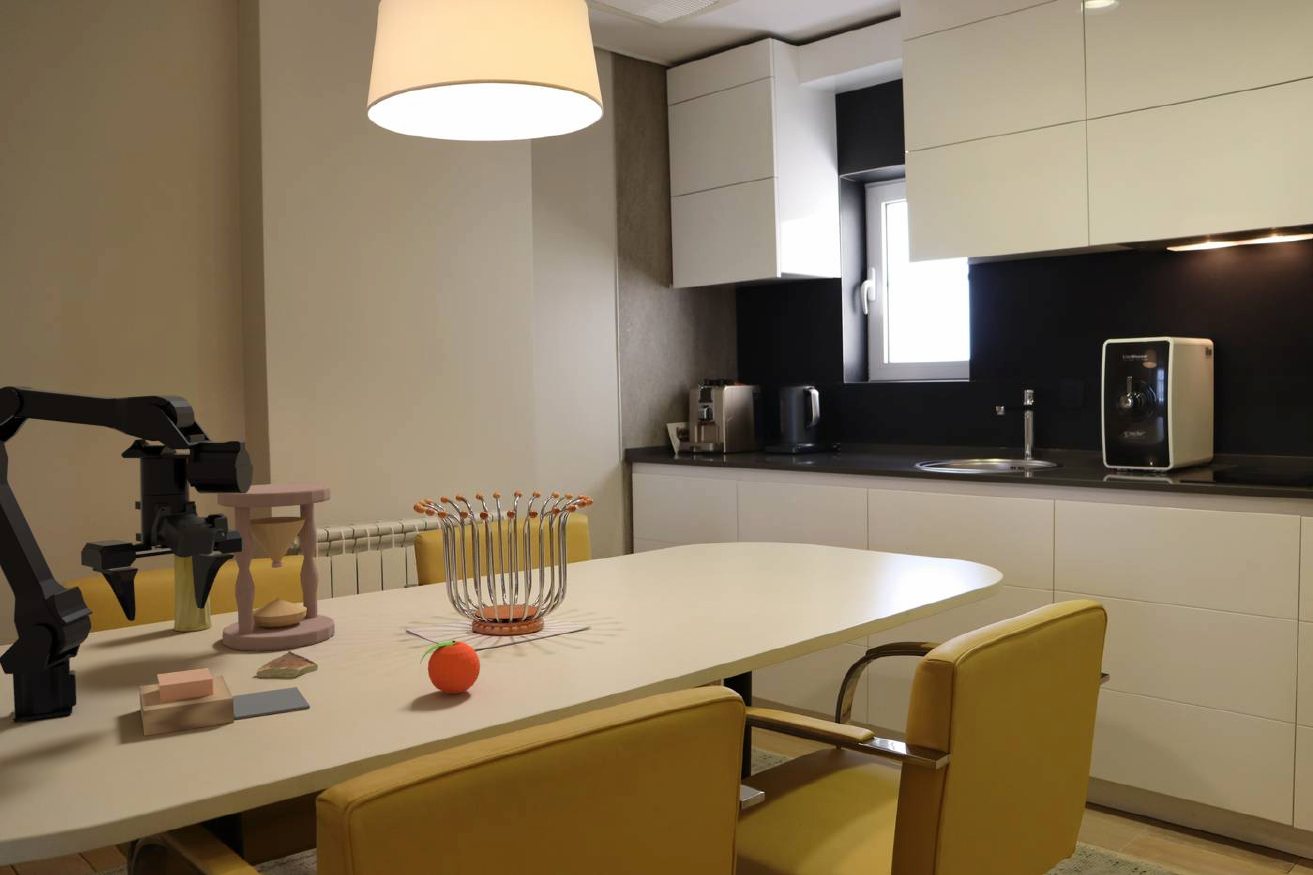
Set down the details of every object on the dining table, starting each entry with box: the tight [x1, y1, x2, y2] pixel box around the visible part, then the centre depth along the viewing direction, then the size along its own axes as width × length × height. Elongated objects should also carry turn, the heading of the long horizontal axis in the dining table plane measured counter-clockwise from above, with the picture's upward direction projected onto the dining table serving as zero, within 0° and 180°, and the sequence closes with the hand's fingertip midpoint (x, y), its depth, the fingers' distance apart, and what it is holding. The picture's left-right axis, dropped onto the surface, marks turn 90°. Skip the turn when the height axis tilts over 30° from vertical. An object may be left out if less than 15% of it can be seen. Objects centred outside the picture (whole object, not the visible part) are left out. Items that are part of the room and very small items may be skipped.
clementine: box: [419, 639, 481, 695], centre depth 142 cm, size 8×7×7 cm
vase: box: [173, 554, 213, 633], centre depth 183 cm, size 6×6×14 cm
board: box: [139, 675, 235, 737], centre depth 134 cm, size 10×12×3 cm
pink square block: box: [156, 667, 213, 702], centre depth 133 cm, size 6×6×2 cm
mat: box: [232, 686, 311, 720], centre depth 138 cm, size 9×10×1 cm
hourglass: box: [216, 482, 336, 652], centre depth 175 cm, size 18×18×25 cm
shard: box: [256, 650, 319, 678], centre depth 156 cm, size 11×8×2 cm
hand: (166, 614), depth 136 cm, fingers open, 9 cm apart
